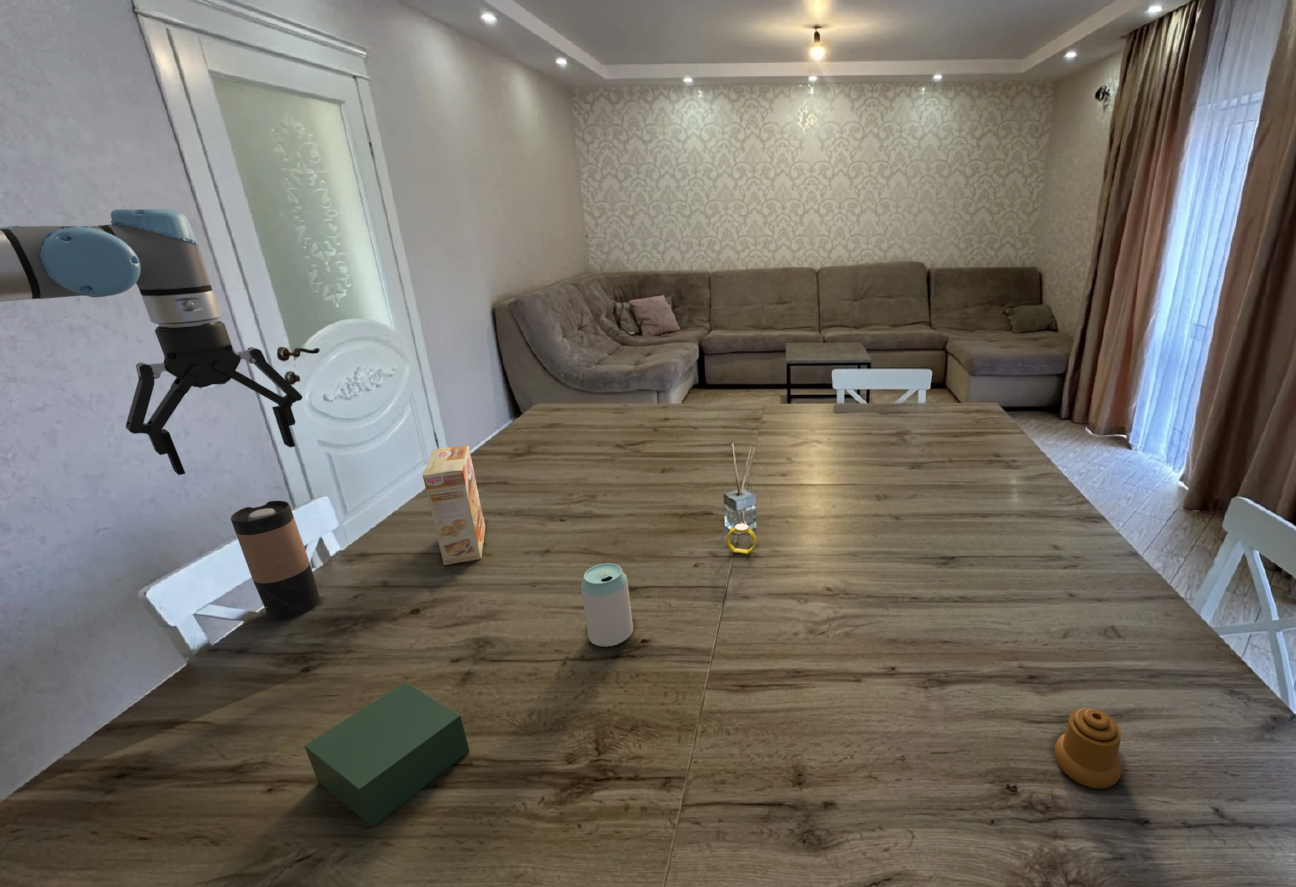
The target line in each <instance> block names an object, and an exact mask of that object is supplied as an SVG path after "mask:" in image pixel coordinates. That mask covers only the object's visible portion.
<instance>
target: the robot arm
mask: <svg viewBox="0 0 1296 887" xmlns="http://www.w3.org/2000/svg"><path fill="white" fill-rule="evenodd" d="M110 218H111V221H110V223H111V224H104V225H103V224H101V225H31V226H30V225H28V226H25V225H23V226H22V225H21V226H20V225H8V226H1V227H0V303H2V302H15V301H16V302H17V301H27V300H44V299H45V300H46V299H47V300H48V299H56V298H57V299H58V298H59V299H60V298H70V297H82V296H84V297H90V298H105V297H112V296H116V295H120V294H122V293H123V294H124V293H125V292H127V291H128V290H130V289H132V288H133V287H134V286H135V285H136V286H137V288H138V290H139V293H140V295H141V296H140V297H141V299H142V301H143V304H144V306H145V309H146V312H147V315H148V317H149V320H150V322H151V323H152V324H155V325H158V326H157V327H155V329H154V334H155V335H156V338H157V341H158V343H159V345H160V348H161V352H162V354H163V357H164V358H163V362H157V363H145V362H138V363H137V364H136V365H135V368H136V373H137V377H138V380H137V384H136V388H135V391H134V395H133V398H132V402H131V404H130V409H129V412H128V415H127V420H126V424H125V429H126V430H127V431H129V432H130V433H131V434H135V435H136V434H145V435H147V436H148V437H149V440H150V442H151V446H152V447H153V450H154V451H155V452H156V453H157V454H158V455H159V456H162V455H167V457H168V459H169V462H170V466H171V467H172V469H173V471H174V473H175V474H176V475H178V476H181V475H186V474H187V472H186V471H185V468H184V466H183V464H182V461H181V459H180V456H179V453H178V451H177V448H176V446H175V443H174V441H173V439H172V436H171V434H170V432H169V431H168V430H167V429H165V426H166V424H167V422H168V421H169V420H170V418H171V417H172V415H173V414H174V412H175V411H176V409H177V407H178V406H179V404H180V403H181V401H182V400H183V398H184V397H185V395H186V394H188V393H189V391H190V390H191V388H192V387H194V388H199V389H202V388H207V387H210V386H212V385H218V386H219V385H225V384H227V383H228V382H230V381H231V380H234V381H235V382H237V383H239V384H241V385H243V386H245V387H246V388H248V389H250V390H252V391H254V392H255V393H257V394H259V395H261V396H262V397H264V398H266V399H267V400H270V401H272V402H273V403H274V404H277V405H275V406H271V408H272V412H273V414H274V416H275V418H274V419H275V420H276V424H277V427H278V429H279V434H280V435H281V439H282V443H283V444H284V445H285V446H286V447H288V448H294V447H296V443H295V441H294V437H293V434H292V431H291V428H290V427H291V426H295V425H296V418H295V416H294V412H293V410H292V407H293V404H294V403H297V402H298V401H299V402H300V401H302V400H303V395H302V394H301V393H300V391H298V390H297V389H296V388H295V387H294V386H293V385H292V384H291V383H290V382H288V380H286V379H285V378H284V377H283V376H282V375H281V374H280V373H279V372H278V371H277V370H276V369H275V368H274V367H273V366H271V364H269V362H267V360H266V357H265V356H264V353H263V351H262V349H259V348H257V347H253V346H250V347H248V348H247V349H246V350H245V349H244V350H242V351H237V352H236V350H235V349H234V346H233V345H232V342H231V339H230V335H229V333H228V330H227V327H226V324H225V323H224V322H223V321H221V320H218V319H220V318H221V317H222V315H223V314H222V312H221V310H220V306H219V303H218V301H217V298H216V296H215V292H214V290H213V287H212V285H211V282H210V278H209V275H208V273H207V269H206V266H205V263H204V260H203V257H202V252H201V250H200V247H199V246H200V243H199V241H198V240H197V239H196V235H195V234H194V231H193V228H192V226H191V224H190V222H189V219H188V218H187V216H186V215H185V214H184V213H182V212H181V211H179V210H177V209H170V208H166V209H165V208H156V209H155V208H154V209H153V208H152V209H149V208H148V209H147V208H146V209H135V208H133V209H131V208H130V209H129V208H128V209H127V208H125V209H123V208H122V209H113V210H112V211H110ZM241 360H244V361H246V363H248V364H252V365H254V366H255V367H256V369H258V370H259V371H260V372H261V373H262V374H263V375H265V376H266V377H267V378H268V380H270V381H271V382H272V383H273V384H274V385H275V386H277V388H279V389H280V390H281V391H282V392H283V393H284V394H285V395H284V396H282V395H279V394H278V393H276V392H274V391H272V390H271V389H269V388H267V387H265V386H264V385H262V384H260V383H259V382H256V381H254V380H253V379H251V378H249V377H248V376H246V375H244V374H243V373H241V372H239V371H237V369H238V367H239V364H240V363H241ZM163 372H167V373H168V374H170V375H172V376H173V377H175V379H174V380H173V382H172V383H171V385H170V388H169V389H168V391H167V392H166V394H165V395H164V397H163V398H162V400H161V401H160V402H159V405H158V406H157V407H156V409H155V410H154V411H153V413H152V415H151V417H150V418H149V419H148V421H147V422H145V419H146V416H147V412H148V409H149V405H150V402H151V399H152V394H153V391H154V387H155V380H157V379H160V377H161V374H162V373H163Z"/></svg>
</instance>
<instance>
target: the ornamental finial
mask: <svg viewBox="0 0 1296 887" xmlns="http://www.w3.org/2000/svg"><path fill="white" fill-rule="evenodd" d="M1068 716H1069V717H1068V720H1067V724H1066V727H1065V732H1064V733H1062V734H1061V735H1060V736H1059V737H1058V738H1057V740H1056V742H1055V745H1054V757H1055V760H1056V762H1057V765H1058V767H1059V768H1060V769H1061V770H1062V771H1063V773H1064V774H1065V775H1066V776H1067V775H1068V776H1067V777H1068V778H1069V779H1071V780H1072V779H1073V780H1072V781H1074V782H1075V783H1077V782H1078V783H1077V784H1079V785H1081V784H1082V786H1084V787H1086V786H1087V788H1090V789H1096V788H1097V789H1096V790H1098V789H1100V790H1101V789H1102V790H1103V789H1107V788H1110V787H1112V786H1114V785H1115V784H1116V783H1117V782H1118V781H1119V780H1120V779H1121V777H1122V772H1123V765H1122V760H1121V758H1120V756H1119V750H1120V744H1121V738H1122V731H1121V728H1120V727H1119V724H1117V722H1116V721H1115V720H1114V719H1113V718H1112V717H1111V716H1109V715H1108V714H1107V713H1105V712H1104V711H1102V710H1099V709H1097V708H1092V707H1082V708H1081V707H1080V708H1077V709H1073V711H1072V712H1070V714H1069V715H1068Z"/></svg>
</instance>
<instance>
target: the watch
mask: <svg viewBox="0 0 1296 887" xmlns="http://www.w3.org/2000/svg"><path fill="white" fill-rule="evenodd" d="M732 533H738V534H745V533H746V534H748V535H750V537H751V539H752V540H753V545H752V546H751V547H750V548H748V549H744V548H737V547H735V546H734V545H733V543H732V542H731V540H730V538H731V535H732ZM757 541H758V538H757V535H756V533H755V532H754V530H752V529H751V528H750V527H749V525H748V524H746V523H737V524H735V525H734V527H732V528H731V529H730V530H729V531H728V533H727V534H726V539H725V543H726V545H727V548H728V549H729V550H730V551H731V552H732V553H734V554H743V555H749V554H751V553H752V552H754V550H755V548H756V547H757V546H756V545H757Z"/></svg>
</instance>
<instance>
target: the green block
mask: <svg viewBox="0 0 1296 887" xmlns="http://www.w3.org/2000/svg"><path fill="white" fill-rule="evenodd" d="M303 747H304V749H305V752H306V755H307V757H308V759H309V760H308V761H309V762H310V764H311V767H312V770H313V772H314V775H315V777H316V780H317V783H318V784H320V786H322V787H323V788H324V789H325V790H327V791H328V792H329V793H330V794H331V795H333V796H334V797H335V798H336V799H338V800H339V801H340V802H341V803H342V804H343V805H345V806H346V807H347V809H350V811H352V812H353V813H354V814H355V815H357V816H358V817H359V818H360V819H361V820H362V821H364V822H365V823H366V824H367V825H369V827H371V828H374V827H375V826H377V825H378V824H380V823H381V822H382V821H383V820H385V819H386V818H387V817H388V816H390V815H391V814H392V813H393V812H394V811H396V810H397V809H398V808H400V807H401V806H402V805H404V804H405V803H406V802H407V801H408V800H410V799H411V798H412V797H414V796H415V795H416V794H418V793H419V792H420V791H421V790H422V789H424V788H425V787H426V786H428V784H430V783H431V782H433V781H434V780H435V779H436V778H437V777H439V776H440V775H441V774H442V773H444V772H445V771H446V770H448V769H449V768H450V767H452V766H453V765H454V764H455V763H456V762H458V761H459V760H460V759H462V758H463V757H464V756H465V755H467V754H468V753H469V752H470V747H469V742H468V739H467V735H466V731H465V727H464V724H463V720H462V716H461V714H459V713H458V712H457V711H454V710H453V709H451V708H449V707H448V706H446V705H444V704H443V703H441V702H439V701H438V700H436V699H434V698H433V697H431V696H429V695H428V694H426V693H424V691H423V692H422V690H420V689H418V688H416V687H415V686H413V685H411V684H410V683H408V682H406V681H404V682H403V683H401V684H400V685H398V686H396V687H395V688H393V689H392V690H390V691H389V692H387V693H385V694H384V695H382V696H381V697H379V698H377V699H376V700H375V701H372V702H371V703H370V704H368V705H366V706H365V707H363V708H362V709H360V710H359V711H356V712H355V713H353V714H352V715H351V716H349V717H347V718H346V719H344V720H342V721H341V722H339V723H338V724H336V725H335V726H333V727H332V728H330V729H329V730H327V731H325V732H324V733H322V734H320V735H319V736H317V737H316V738H314V739H312V740H311V741H309V742H308V743H306V744H305V745H304V746H303Z"/></svg>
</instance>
